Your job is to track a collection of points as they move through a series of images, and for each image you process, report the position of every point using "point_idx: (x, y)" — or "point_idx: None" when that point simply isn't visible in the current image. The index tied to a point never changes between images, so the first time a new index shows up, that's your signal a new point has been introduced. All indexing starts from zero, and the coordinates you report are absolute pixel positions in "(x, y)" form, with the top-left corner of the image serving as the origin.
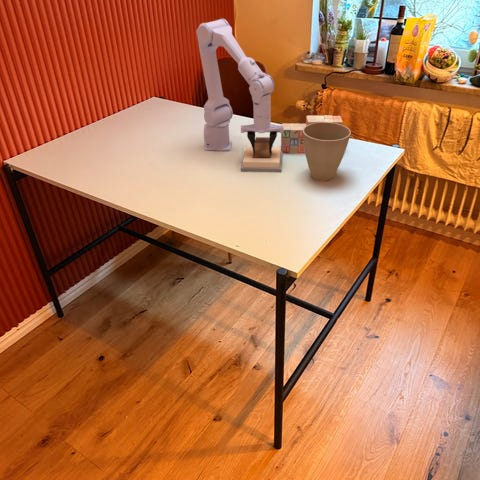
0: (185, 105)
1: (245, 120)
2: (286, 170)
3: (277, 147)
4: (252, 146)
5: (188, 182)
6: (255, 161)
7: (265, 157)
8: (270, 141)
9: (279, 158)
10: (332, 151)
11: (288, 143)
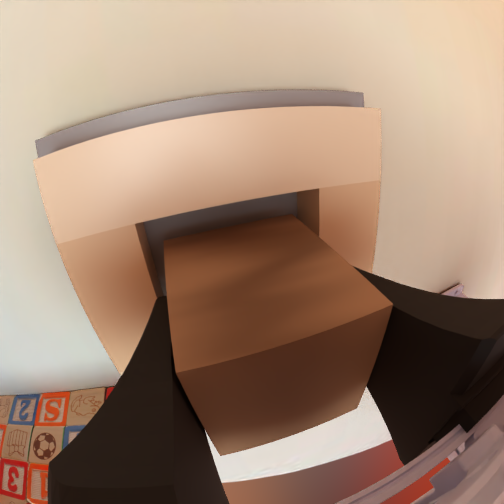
0: None
1: (327, 458)
2: (22, 178)
3: None
4: (378, 277)
5: (482, 31)
6: (282, 120)
7: (199, 239)
8: (157, 400)
9: (58, 245)
10: None
11: None
